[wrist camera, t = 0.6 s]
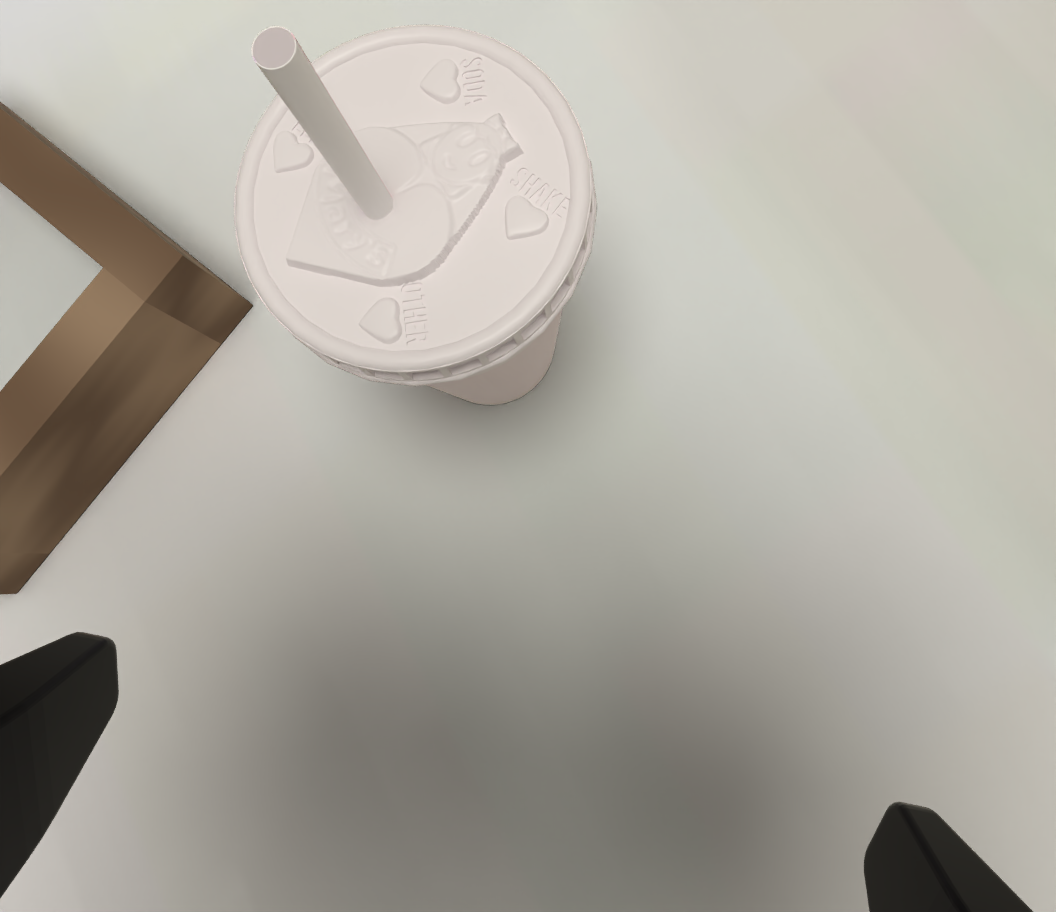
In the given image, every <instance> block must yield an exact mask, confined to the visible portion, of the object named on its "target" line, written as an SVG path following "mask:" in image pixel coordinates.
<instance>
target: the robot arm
mask: <svg viewBox="0 0 1056 912" xmlns="http://www.w3.org/2000/svg"><path fill="white" fill-rule="evenodd" d="M118 692H119V690H118V671H117V652H116V646H115V644H114V642H113V640H111V639H109V638H107V637H103V636H98V635H93V634H88V633H84V632H76V633H73V634H70V635H67V636H65V637H63V638H60V639H58V640H56V641H54V642H51V643H49V644H47V645H45V646H42V647H40V648H38V649H35V650H33V651H31V652H29V653H26V654H24V655H22V656H20V657H17V658H15V659H13V660H11V661H8V662H6V663H4V664H1V665H0V898H1V897H2V895H3V894H4V892H5V891H6V890H7V888H8V887H9V885H10V884H11V882H12V881H13V880H14V878H15V877H16V875H17V874H18V873H19V871H20V870H21V868H22V867H23V865H24V864H25V863H26V861H27V860H28V858H29V857H30V855H31V854H32V852H33V851H34V849H35V848H36V846H37V845H38V843H39V842H40V840H41V839H42V837H43V836H44V834H45V832H46V831H47V829H48V827H49V826H50V824H51V822H52V821H53V819H54V817H55V816H56V814H57V812H58V810H59V809H60V807H61V805H62V803H63V802H64V800H65V798H66V796H67V794H68V793H69V791H70V789H71V787H72V786H73V784H74V782H75V780H76V779H77V777H78V775H79V773H80V771H81V770H82V768H83V766H84V764H85V763H86V761H87V759H88V757H89V755H90V754H91V752H92V750H93V748H94V747H95V745H96V743H97V741H98V740H99V738H100V736H101V734H102V732H103V731H104V729H105V727H106V725H107V724H108V722H109V720H110V718H111V716H112V715H113V713H114V710H115V708H116V704H117V701H118ZM864 875H865V882H866V889H867V897H868V904H869V911H870V912H1033V911H1032V910H1031V909H1030V908H1029V907H1028V906H1027V905H1026V904H1025V903H1024V902H1023V901H1022V900H1021V899H1020V898H1019V897H1018V896H1017V895H1016V894H1015V893H1014V892H1013V891H1012V890H1011V889H1010V888H1009V887H1008V886H1007V884H1006V883H1005V882H1004V881H1003V880H1002V879H1001V878H1000V877H999V876H998V875H997V874H996V873H995V872H994V871H993V870H992V869H991V868H990V867H989V866H988V865H987V864H986V863H985V862H984V861H983V860H982V859H981V858H980V857H979V856H978V855H977V854H976V853H975V852H974V851H973V850H972V849H971V848H970V847H969V846H968V845H967V844H966V843H965V842H964V841H963V840H962V839H961V838H960V837H959V836H958V835H957V833H956V832H955V831H954V830H953V829H952V828H951V827H950V826H949V825H948V824H947V823H946V822H945V821H944V820H943V819H942V818H941V817H940V816H939V815H938V814H937V813H935V812H934V811H933V810H931V809H929V808H926V807H922V806H917V805H913V804H908V803H903V802H895V803H893V804H892V805H890V806H889V807H888V809H887V810H886V812H885V814H884V816H883V818H882V820H881V822H880V824H879V826H878V828H877V830H876V832H875V834H874V836H873V838H872V840H871V842H870V844H869V846H868V848H867V850H866V854H865V859H864Z"/></svg>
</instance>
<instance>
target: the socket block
mask: <svg viewBox="0 0 1056 912" xmlns="http://www.w3.org/2000/svg"><path fill="white" fill-rule="evenodd" d="M0 182H1V183H2V184H3V185H5V186H6V187H7V188H8V189H9V190H11V191H12V192H13V193H14V194H16V195H17V196H18V197H19V198H20V199H22V200H23V201H24V202H25V203H26V204H28V205H29V206H30V207H31V208H32V209H34V210H35V211H36V212H37V213H38V214H40V215H41V216H42V217H43V218H44V219H46V220H47V221H48V222H49V223H50V224H52V225H53V226H54V227H55V228H56V229H58V230H59V231H60V232H61V233H62V234H64V235H65V236H66V237H67V238H69V239H70V240H71V241H72V242H73V243H75V244H76V245H77V246H78V247H79V248H81V249H82V250H83V251H84V252H85V253H87V254H88V255H89V256H90V257H91V258H93V259H94V260H95V261H96V262H97V263H99V264H100V265H101V266H102V267H103V269H102V270H101V271H100V272H99V273H98V275H97V276H96V277H95V278H94V279H93V281H92V282H91V283H90V284H89V285H88V287H87V288H86V289H85V290H84V291H83V293H82V294H81V295H80V296H79V297H78V299H77V300H76V301H75V302H74V303H73V305H72V306H71V307H70V308H69V309H68V311H67V312H66V313H65V314H64V315H63V317H62V318H61V319H60V320H59V322H58V323H57V324H56V325H55V326H54V328H53V329H52V330H51V331H50V332H49V334H48V335H47V336H46V337H45V338H44V340H43V341H42V342H41V343H40V344H39V346H38V347H37V348H36V349H35V350H34V352H33V353H32V354H31V355H30V356H29V358H28V359H27V360H26V361H25V362H24V364H23V365H22V366H21V367H20V368H19V370H18V371H17V372H16V373H15V374H14V376H13V377H12V378H11V379H10V381H9V382H8V383H7V384H6V385H5V387H4V388H3V389H2V390H1V391H0V594H16V593H18V591H19V590H20V589H21V588H22V586H23V585H24V584H25V583H26V582H27V580H28V579H29V578H30V577H31V575H32V574H33V573H34V572H35V571H36V569H37V568H38V567H39V566H40V564H41V563H42V562H43V561H44V560H45V558H46V557H47V556H48V555H49V554H50V552H51V551H52V550H53V549H54V547H55V546H56V545H57V544H58V543H59V541H60V540H61V539H62V538H63V536H64V535H65V534H66V533H67V532H68V530H69V529H70V528H71V527H72V525H73V524H74V523H75V522H76V521H77V519H78V518H79V517H80V516H81V515H82V513H83V512H84V511H85V510H86V508H87V507H88V506H89V505H90V504H91V502H92V501H93V500H94V499H95V497H96V496H97V495H98V494H99V493H100V491H101V490H102V489H103V488H104V486H105V485H106V484H107V483H108V482H109V480H110V479H111V478H112V477H113V475H114V474H115V473H116V472H117V471H118V469H119V468H120V467H121V466H122V465H123V463H124V462H125V461H126V460H127V458H128V457H129V456H130V455H131V454H132V452H133V451H134V450H135V449H136V447H137V446H138V445H139V444H140V443H141V441H142V440H143V439H144V438H145V436H146V435H147V434H148V433H149V432H150V430H151V429H152V428H153V427H154V425H155V424H156V423H157V422H158V421H159V419H160V418H161V417H162V416H163V415H164V413H165V412H166V411H167V410H168V408H169V407H170V406H171V405H172V404H173V402H174V401H175V400H176V399H177V397H178V396H179V395H180V394H181V393H182V391H183V390H184V389H185V388H186V386H187V385H188V384H189V383H190V382H191V380H192V379H193V378H194V377H195V376H196V374H197V373H198V372H199V371H200V369H201V368H202V367H203V366H204V365H205V363H206V362H207V361H208V360H209V358H210V357H211V356H212V355H213V354H214V352H215V351H216V350H217V349H218V347H219V346H220V345H221V344H222V343H223V341H224V340H225V339H226V338H227V336H228V335H229V334H230V333H231V332H232V330H233V329H234V328H235V327H236V326H237V324H238V323H239V322H240V321H241V319H242V318H243V317H244V316H245V315H246V313H247V312H248V311H249V310H250V308H251V307H252V306H253V305H252V304H251V303H250V302H248V301H247V300H246V299H245V298H243V297H242V296H241V295H240V294H238V293H237V292H236V291H235V290H233V289H232V288H231V287H230V286H228V285H227V284H226V283H225V282H223V281H222V280H221V279H220V278H219V277H217V276H216V275H215V274H214V273H212V272H211V271H210V270H209V269H207V268H206V267H205V266H204V265H202V264H201V263H200V262H199V261H197V260H196V259H195V258H194V257H192V256H191V255H190V254H189V253H188V252H186V251H185V250H184V249H183V248H181V247H180V246H179V245H178V244H176V243H175V242H174V241H173V240H171V239H170V238H169V237H168V236H166V235H165V234H164V233H163V232H161V231H160V230H159V229H158V228H157V227H155V226H154V225H153V224H152V223H150V222H149V221H148V220H147V219H145V218H144V217H143V216H142V215H140V214H139V213H138V212H137V211H135V210H134V209H133V208H132V207H130V206H129V205H128V204H127V203H126V202H124V201H123V200H122V199H121V198H119V197H118V196H117V195H116V194H114V193H113V192H112V191H111V190H109V189H108V188H107V187H106V186H104V185H103V184H102V183H101V182H99V181H98V180H97V179H96V178H95V177H93V176H92V175H91V174H90V173H88V172H87V171H86V170H85V169H83V168H82V167H81V166H80V165H78V164H77V163H76V162H75V161H73V160H72V159H71V158H70V157H68V156H67V155H66V154H65V153H63V152H62V151H61V150H60V149H59V148H57V147H56V146H55V145H54V144H52V143H51V142H50V141H49V140H47V139H46V138H45V137H44V136H42V135H41V134H40V133H39V132H37V131H36V130H35V129H34V128H32V127H31V126H30V125H29V124H28V123H26V122H25V121H24V120H23V119H21V118H20V117H19V116H18V115H16V114H15V113H14V112H13V111H11V110H10V109H9V108H8V107H6V106H5V105H4V104H2V103H1V102H0Z"/></svg>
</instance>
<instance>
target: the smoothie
mask: <svg viewBox="0 0 1056 912" xmlns="http://www.w3.org/2000/svg"><path fill="white" fill-rule="evenodd" d="M251 53H252V57H253V59H254V61H255V62H256V64H257V65H258V67H259V68H260V69H261V71H262V72H263V73H264V75H265V76H266V78H267V79H268V80H269V82H270V83H271V85H272V86H273V87H274V89H275V90H276V92H277V93H278V94H277V95H276V96H275V98H274V99H273V100H272V102H271V103H270V104H269V106H268V107H267V108H266V110H265V111H264V113H263V114H262V116H261V118H260V119H259V121H258V123H257V124H256V126H255V128H254V130H253V132H252V134H251V136H250V138H249V141H248V143H247V146H246V148H245V151H244V154H243V157H242V160H241V164H240V167H239V171H238V176H237V182H236V187H235V199H234V223H235V231H236V239H237V243H238V248H239V252H240V256H241V259H242V262H243V265H244V268H245V270H246V273H247V275H248V277H249V279H250V281H251V284H252V286H253V287H254V289H255V291H256V292H257V294H258V296H259V297H260V299H261V300H262V302H263V303H264V305H265V306H266V307H267V309H268V310H269V311H270V313H271V314H272V315H273V316H274V317H275V318H276V319H277V320H278V321H279V322H280V323H281V324H282V325H283V326H284V327H285V328H286V329H287V330H288V331H289V332H291V333H292V335H293V336H294V337H295V338H296V339H298V340H299V341H300V342H301V343H303V344H304V345H305V346H306V347H308V348H309V349H310V350H311V351H313V352H314V353H315V354H317V355H318V356H319V357H320V358H322V359H323V360H324V361H325V362H327V363H328V364H330V365H333V366H335V367H338V368H340V369H342V370H345V371H347V372H350V373H352V374H354V375H357V376H359V377H362V378H364V379H367V380H369V381H376V382H384V383H392V384H400V385H409V386H421V385H427V386H430V387H432V388H435V389H438V390H440V391H443V392H445V393H448V394H451V395H453V396H456V397H459V398H461V399H464V400H467V401H469V402H472V403H477V404H483V405H498V404H504V403H507V402H511V401H513V400H516V399H518V398H520V397H522V396H524V395H525V394H527V393H528V392H530V391H531V390H532V389H533V388H534V387H535V386H536V385H537V384H538V383H539V382H540V381H541V380H542V378H543V377H544V376H545V374H546V372H547V371H548V369H549V366H550V364H551V362H552V359H553V355H554V350H555V345H556V340H557V335H558V329H559V324H560V319H561V314H562V309H563V307H564V306H565V304H566V303H567V302H568V301H569V299H570V298H571V297H572V296H573V293H574V291H575V289H576V286H577V284H578V282H579V279H580V277H581V275H582V272H583V270H584V268H585V265H586V263H587V261H588V258H589V256H590V254H591V249H592V242H593V235H594V228H595V221H596V214H597V201H596V194H595V186H594V179H593V172H592V165H591V161H590V159H589V156H588V151H587V146H586V143H585V139H584V136H583V133H582V130H581V127H580V125H579V123H578V120H577V118H576V116H575V114H574V112H573V110H572V108H571V107H570V105H569V103H568V101H567V100H566V98H565V97H564V95H563V94H562V93H561V91H560V90H559V88H558V87H557V86H556V85H555V83H554V82H553V81H552V80H551V79H550V78H549V77H548V75H547V74H546V73H545V72H543V71H542V70H541V69H540V68H539V67H538V66H537V65H536V64H535V63H534V62H532V61H531V60H530V59H528V58H527V57H526V56H524V55H523V54H522V53H520V52H518V51H517V50H515V49H513V48H512V47H510V46H508V45H507V44H504V43H502V42H500V41H498V40H496V39H494V38H492V37H489V36H486V35H483V34H480V33H478V32H474V31H470V30H466V29H462V28H457V27H450V26H443V25H407V26H399V27H392V28H387V29H383V30H379V31H374V32H371V33H368V34H365V35H362V36H359V37H357V38H354V39H352V40H350V41H347V42H345V43H343V44H341V45H339V46H337V47H335V48H333V49H331V50H329V51H328V52H326V53H324V54H323V55H321V56H320V57H318V58H317V59H315V60H314V61H312V62H311V63H310V61H309V60H308V58H307V56H306V55H305V53H304V51H303V50H302V48H301V46H300V45H299V43H298V41H297V40H296V38H295V37H294V35H293V34H292V32H291V31H289V30H288V29H286V28H284V27H281V26H272V27H268V28H266V29H264V30H262V31H261V32H260V33H259V34H258V35H257V36H256V37H255V39H254V41H253V43H252V47H251Z"/></svg>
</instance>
